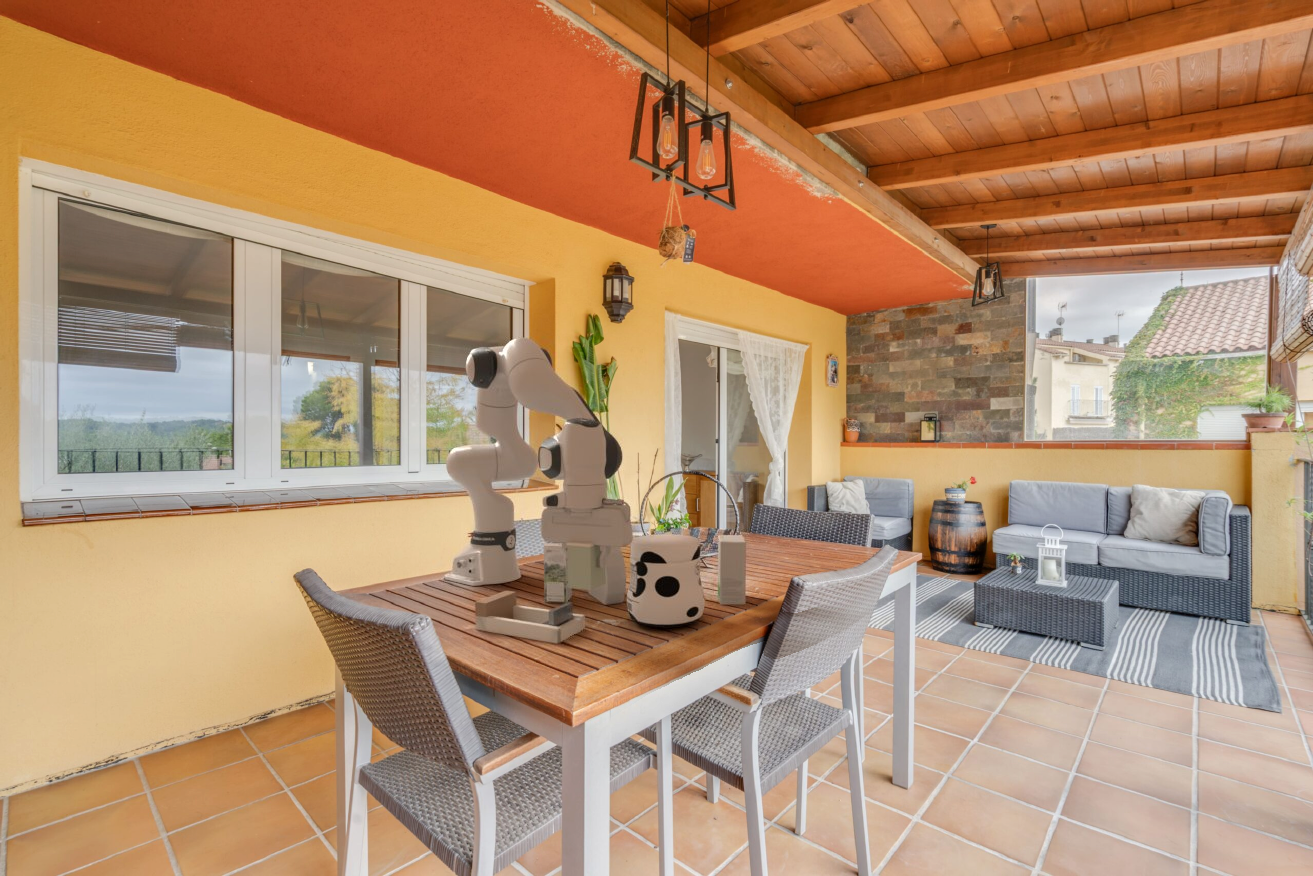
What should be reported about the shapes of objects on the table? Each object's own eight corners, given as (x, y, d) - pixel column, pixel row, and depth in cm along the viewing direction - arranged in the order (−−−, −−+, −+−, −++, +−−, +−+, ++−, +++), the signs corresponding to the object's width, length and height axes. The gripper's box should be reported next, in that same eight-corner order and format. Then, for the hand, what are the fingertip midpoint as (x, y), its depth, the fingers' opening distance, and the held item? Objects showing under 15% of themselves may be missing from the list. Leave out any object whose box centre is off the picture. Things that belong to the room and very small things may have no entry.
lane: (475, 629, 132) (475, 601, 132) (506, 616, 141) (505, 590, 141) (557, 643, 123) (556, 613, 122) (584, 628, 131) (584, 601, 131)
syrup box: (572, 597, 157) (571, 540, 156) (566, 603, 151) (565, 544, 151) (550, 596, 157) (549, 540, 157) (543, 603, 151) (542, 544, 151)
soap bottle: (584, 592, 161) (582, 516, 161) (603, 589, 163) (602, 515, 163) (606, 608, 147) (605, 525, 146) (627, 605, 149) (625, 523, 149)
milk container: (718, 616, 139) (717, 537, 138) (679, 639, 124) (677, 550, 124) (655, 605, 148) (654, 531, 148) (611, 625, 134) (609, 543, 133)
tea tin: (567, 587, 124) (566, 542, 123) (583, 581, 129) (582, 538, 129) (591, 590, 121) (590, 544, 121) (606, 583, 126) (605, 539, 126)
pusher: (537, 635, 127) (536, 609, 127) (556, 625, 133) (556, 600, 133) (553, 638, 125) (553, 611, 125) (572, 628, 131) (572, 602, 131)
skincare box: (717, 595, 156) (716, 534, 155) (743, 595, 155) (743, 534, 155) (719, 605, 147) (718, 540, 147) (747, 605, 147) (746, 540, 147)
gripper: (637, 497, 123) (639, 566, 123) (554, 495, 132) (555, 559, 132) (621, 501, 117) (623, 573, 117) (535, 498, 126) (537, 565, 127)
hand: (586, 565), depth 125 cm, fingers closed on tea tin, 5 cm apart
